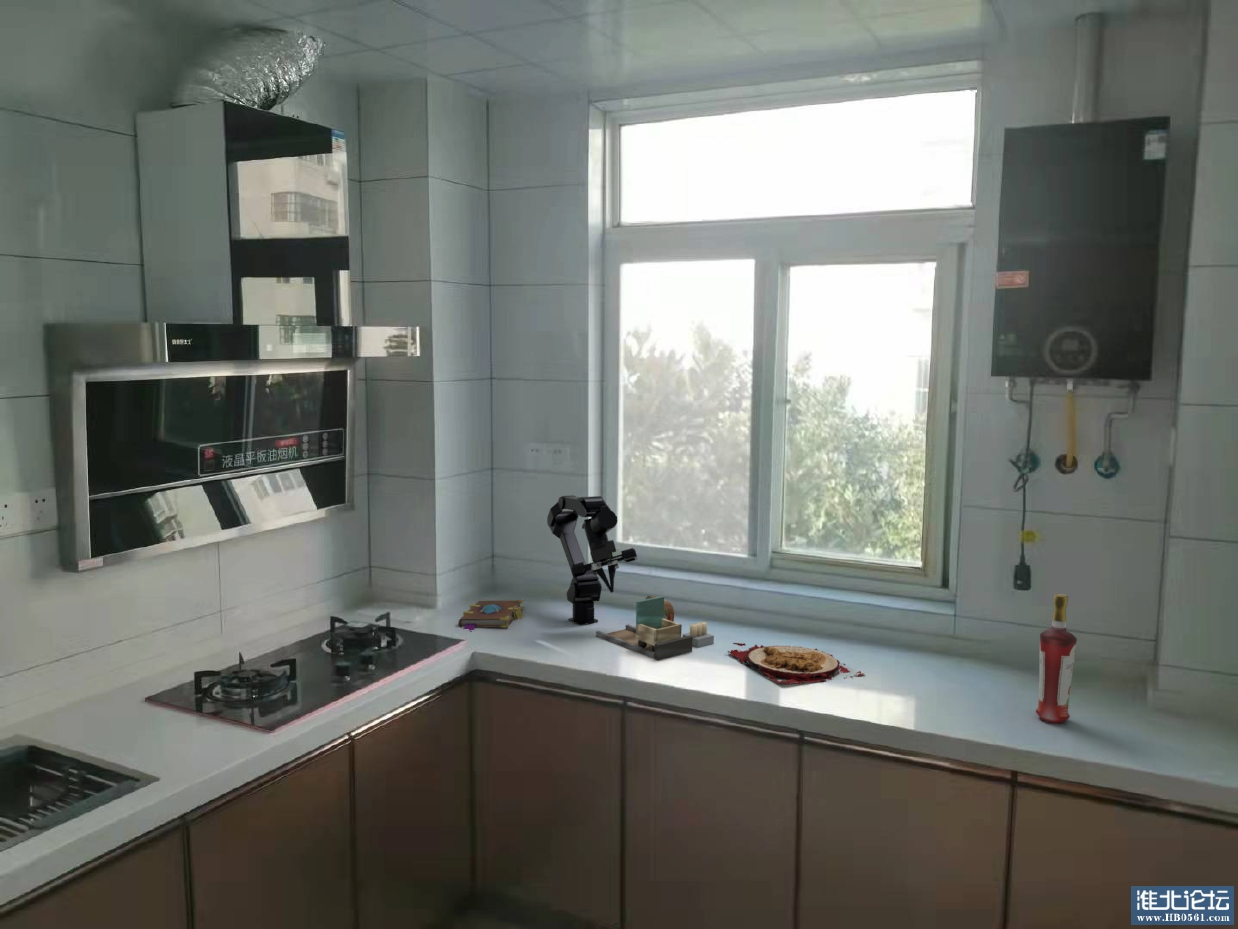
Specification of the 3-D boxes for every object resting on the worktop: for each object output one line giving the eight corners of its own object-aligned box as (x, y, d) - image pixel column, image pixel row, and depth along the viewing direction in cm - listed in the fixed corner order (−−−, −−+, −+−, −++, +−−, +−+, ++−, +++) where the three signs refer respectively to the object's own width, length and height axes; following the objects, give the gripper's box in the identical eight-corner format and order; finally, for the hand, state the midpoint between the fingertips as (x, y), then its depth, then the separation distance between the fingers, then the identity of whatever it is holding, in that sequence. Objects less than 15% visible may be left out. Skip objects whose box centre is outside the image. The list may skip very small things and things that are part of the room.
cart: (635, 647, 252) (636, 601, 250) (660, 641, 257) (661, 596, 256) (655, 655, 246) (656, 608, 244) (681, 648, 251) (682, 602, 250)
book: (453, 635, 268) (452, 618, 267) (477, 611, 292) (476, 595, 292) (509, 635, 266) (508, 618, 265) (529, 611, 290) (528, 595, 290)
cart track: (595, 638, 263) (595, 621, 262) (628, 631, 270) (628, 614, 270) (658, 663, 243) (658, 645, 242) (692, 654, 250) (692, 636, 250)
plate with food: (781, 691, 227) (782, 677, 226) (726, 655, 251) (727, 642, 250) (866, 680, 236) (867, 666, 236) (805, 646, 260) (806, 634, 260)
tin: (642, 620, 281) (642, 592, 280) (651, 619, 283) (652, 591, 282) (665, 634, 268) (666, 605, 267) (675, 633, 269) (676, 604, 268)
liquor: (1039, 710, 215) (1048, 589, 211) (1074, 719, 210) (1083, 595, 207) (1029, 720, 209) (1038, 596, 206) (1065, 728, 204) (1074, 602, 201)
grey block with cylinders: (682, 645, 258) (682, 623, 258) (698, 641, 262) (698, 619, 261) (697, 650, 254) (698, 628, 253) (713, 646, 258) (714, 624, 257)
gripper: (562, 543, 260) (577, 598, 256) (628, 524, 260) (643, 579, 256) (566, 549, 270) (580, 602, 266) (629, 532, 271) (644, 584, 267)
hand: (612, 592), depth 264 cm, fingers closed
